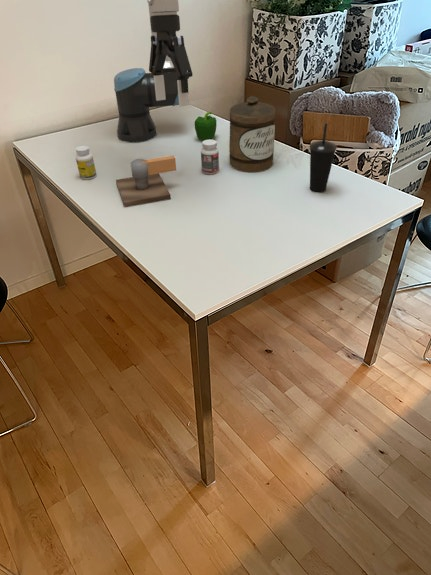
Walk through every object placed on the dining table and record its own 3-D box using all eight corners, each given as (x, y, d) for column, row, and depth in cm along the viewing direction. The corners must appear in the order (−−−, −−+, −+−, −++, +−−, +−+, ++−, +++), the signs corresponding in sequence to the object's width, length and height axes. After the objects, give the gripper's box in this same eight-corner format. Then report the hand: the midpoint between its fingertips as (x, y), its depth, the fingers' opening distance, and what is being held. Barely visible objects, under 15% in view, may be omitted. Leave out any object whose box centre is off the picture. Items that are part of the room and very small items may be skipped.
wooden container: (246, 176, 148) (247, 107, 134) (221, 161, 157) (220, 95, 143) (281, 165, 154) (286, 97, 140) (255, 150, 163) (257, 86, 149)
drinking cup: (314, 181, 144) (322, 117, 131) (335, 188, 139) (345, 123, 127) (300, 189, 140) (306, 124, 127) (320, 197, 135) (329, 131, 123)
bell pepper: (197, 144, 169) (196, 117, 163) (193, 136, 175) (191, 110, 169) (219, 142, 170) (219, 115, 164) (214, 134, 177) (213, 107, 170)
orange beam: (133, 179, 136) (132, 167, 133) (131, 172, 139) (129, 160, 137) (177, 172, 139) (176, 159, 136) (173, 165, 142) (172, 153, 140)
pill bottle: (217, 175, 149) (216, 146, 142) (200, 174, 150) (198, 145, 143) (220, 168, 153) (219, 139, 147) (204, 167, 154) (202, 138, 148)
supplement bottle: (76, 176, 151) (70, 148, 144) (90, 171, 154) (84, 143, 147) (86, 181, 148) (79, 152, 141) (100, 175, 151) (94, 147, 144)
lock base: (116, 183, 146) (113, 168, 142) (159, 176, 149) (157, 161, 146) (124, 207, 134) (121, 190, 131) (170, 199, 137) (169, 182, 134)
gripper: (130, 15, 123) (140, 99, 134) (175, 13, 105) (182, 110, 116) (155, 14, 126) (163, 96, 137) (202, 12, 108) (207, 106, 119)
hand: (172, 102), depth 127 cm, fingers open, 13 cm apart
